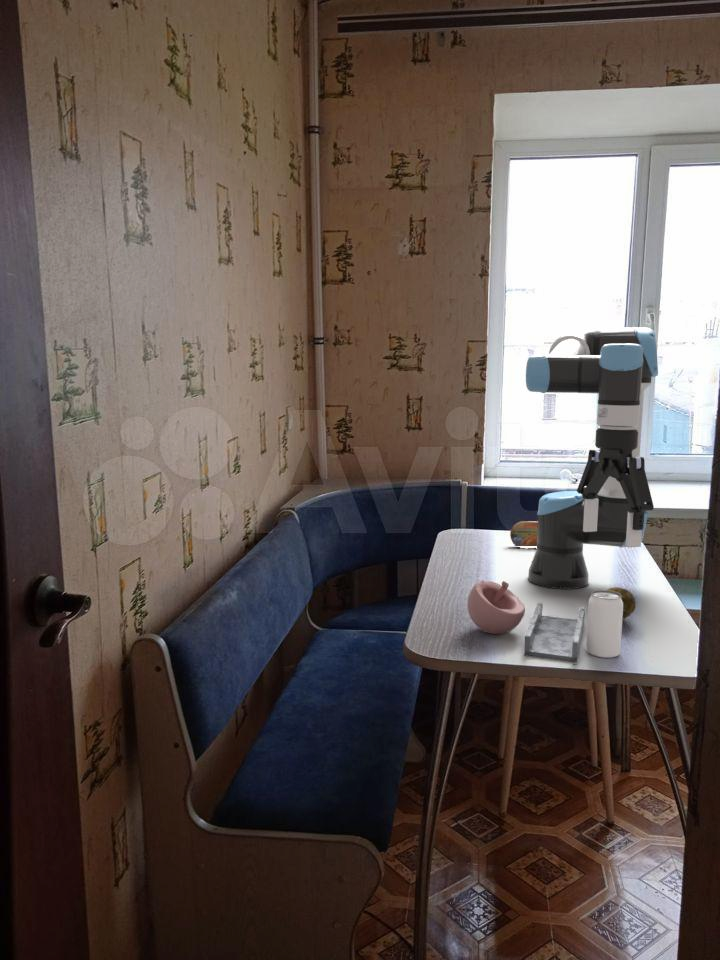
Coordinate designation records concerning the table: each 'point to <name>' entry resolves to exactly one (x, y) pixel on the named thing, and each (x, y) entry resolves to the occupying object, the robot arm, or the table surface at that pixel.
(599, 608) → the can
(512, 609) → the mortar and pestle
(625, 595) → the potato
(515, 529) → the tin
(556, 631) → the track
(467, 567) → the table surface
